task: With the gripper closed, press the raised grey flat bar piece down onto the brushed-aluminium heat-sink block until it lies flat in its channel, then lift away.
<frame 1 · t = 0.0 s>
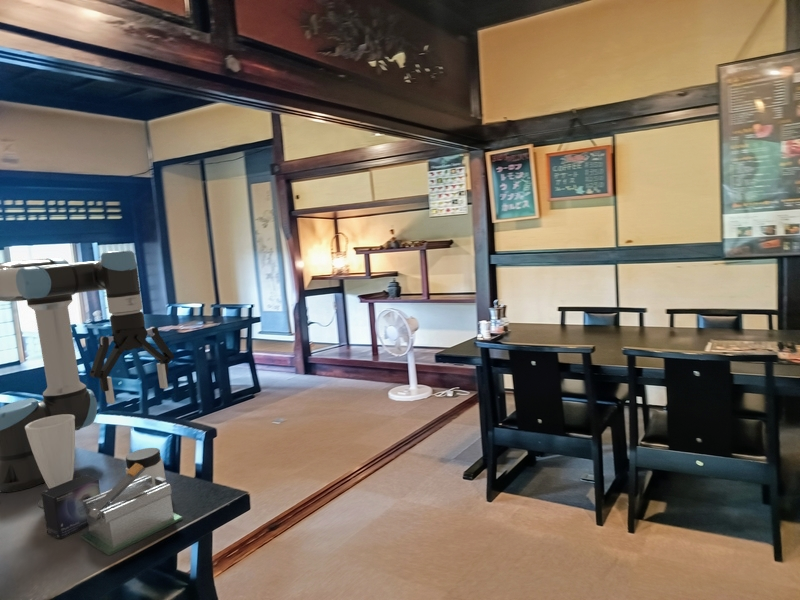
hand: (138, 395, 137), 28 cm above the table, fingers open, 13 cm apart
jar: (149, 497, 142), on the table
cup: (63, 498, 146), on the table
heatsink: (132, 528, 126), on the table
small box: (76, 527, 130), on the table
grey flat bar piece: (116, 490, 123), point 10 cm above the table, hinge at 28.0°
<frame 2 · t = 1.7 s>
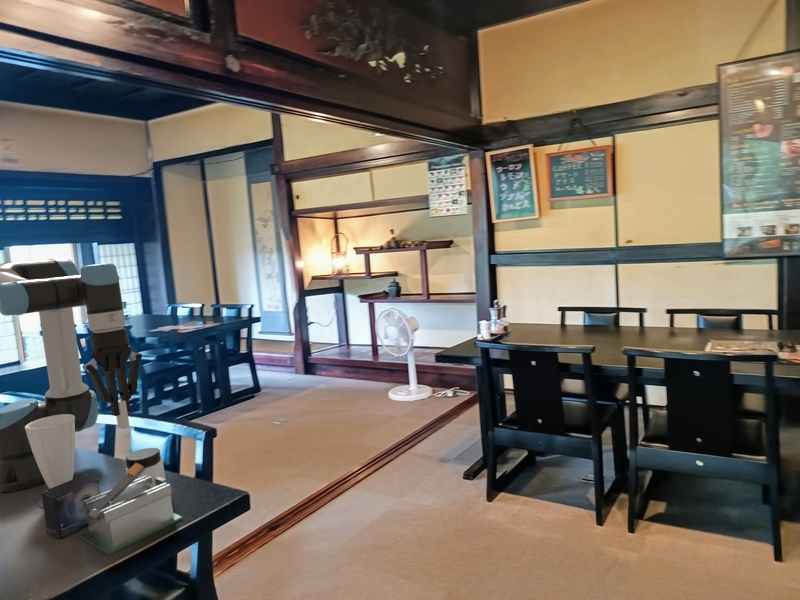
hand: (123, 427, 128), 23 cm above the table, fingers closed
nothing on the table moved.
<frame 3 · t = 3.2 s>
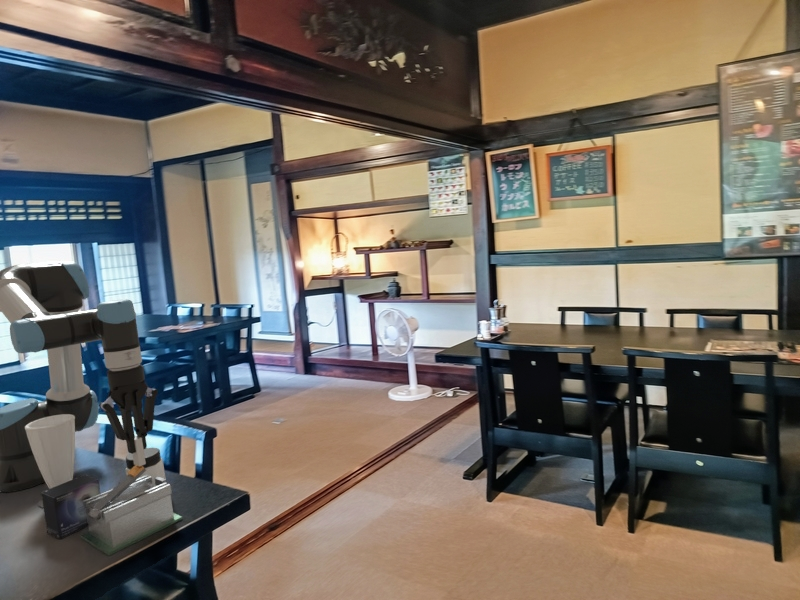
hand: (139, 464, 127), 14 cm above the table, fingers closed
grey flat bar piece: (117, 491, 123), point 10 cm above the table, hinge at 26.4°, touching gripper
everything else where it was.
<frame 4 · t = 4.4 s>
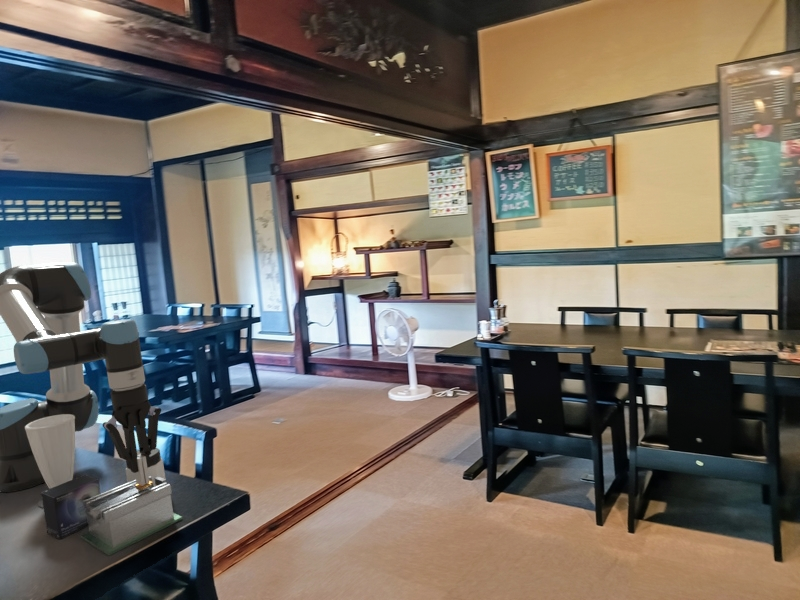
hand: (143, 482, 128), 10 cm above the table, fingers closed
grey flat bar piece: (121, 499, 124), point 8 cm above the table, hinge at 4.5°, touching gripper
everything else where it was.
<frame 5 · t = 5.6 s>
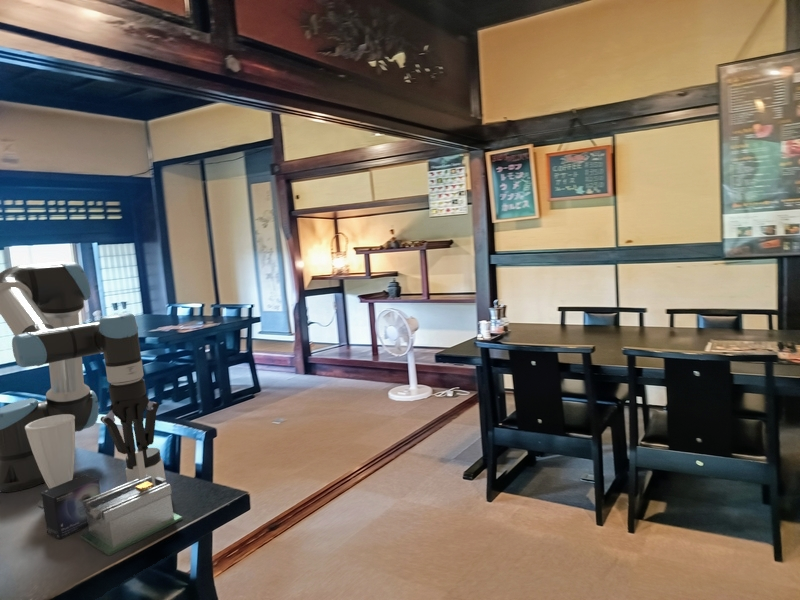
hand: (140, 477, 128), 11 cm above the table, fingers closed
grey flat bar piece: (121, 499, 124), point 8 cm above the table, hinge at 2.4°
everything else where it was.
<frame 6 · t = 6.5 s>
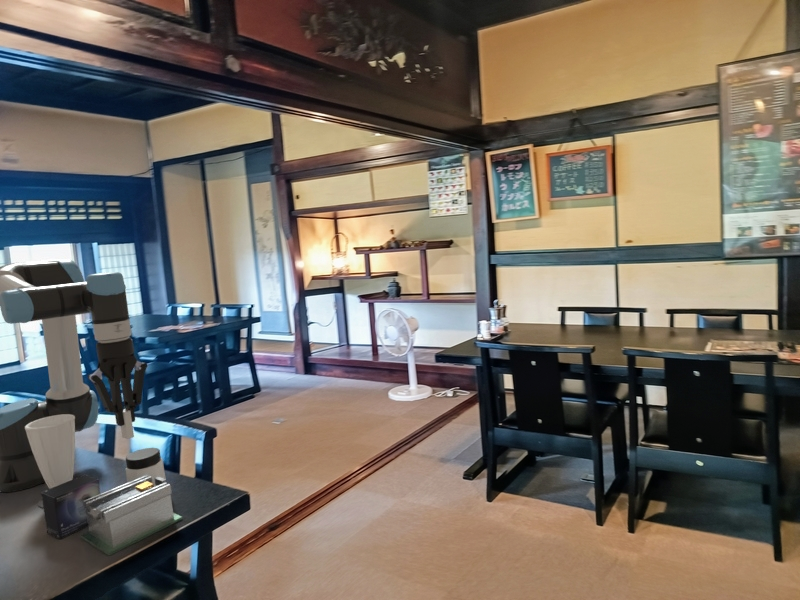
hand: (128, 436, 128), 21 cm above the table, fingers closed
nothing on the table moved.
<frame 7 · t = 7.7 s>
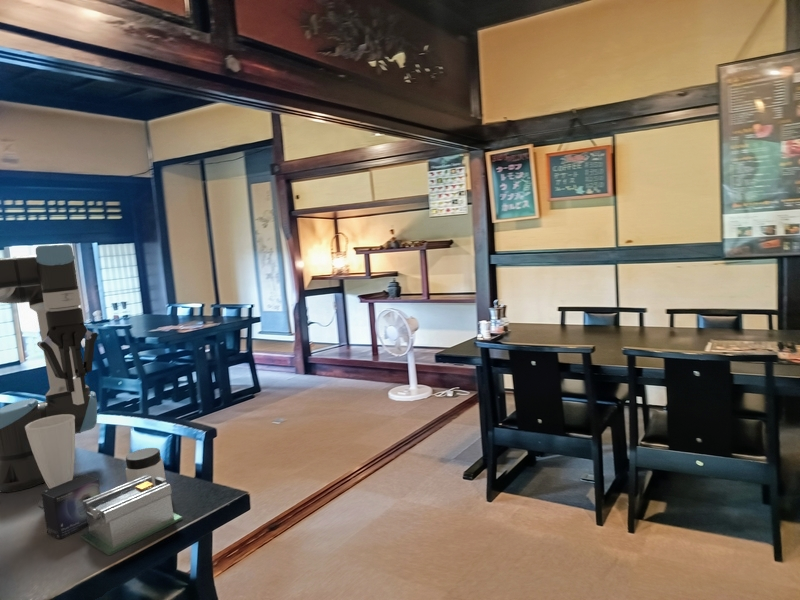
hand: (78, 403, 133), 28 cm above the table, fingers closed
nothing on the table moved.
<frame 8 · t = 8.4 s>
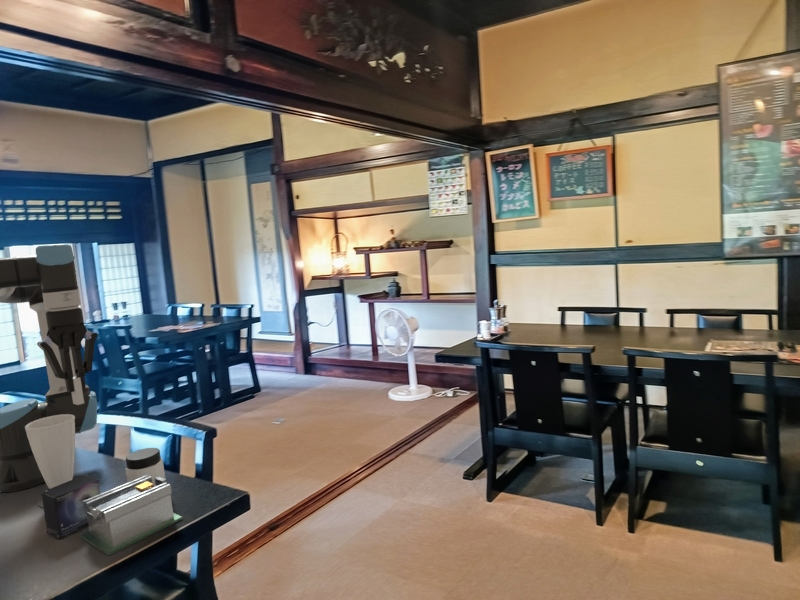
hand: (78, 403, 133), 28 cm above the table, fingers closed
nothing on the table moved.
at the end: grey flat bar piece at +2° (first picture: +28°); grey flat bar piece touching nothing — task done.
